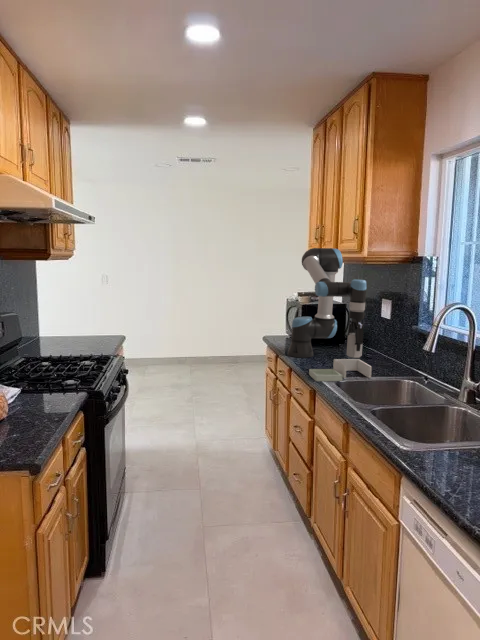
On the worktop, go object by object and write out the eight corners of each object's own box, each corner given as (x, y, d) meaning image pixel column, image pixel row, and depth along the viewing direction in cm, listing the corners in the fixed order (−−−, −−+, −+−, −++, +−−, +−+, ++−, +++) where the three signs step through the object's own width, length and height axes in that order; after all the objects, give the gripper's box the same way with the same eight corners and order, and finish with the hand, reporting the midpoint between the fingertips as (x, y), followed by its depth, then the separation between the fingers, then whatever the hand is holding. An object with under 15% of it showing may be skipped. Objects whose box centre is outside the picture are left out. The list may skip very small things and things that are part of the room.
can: (361, 358, 237) (363, 335, 235) (346, 357, 238) (348, 334, 236) (361, 355, 244) (362, 332, 242) (346, 354, 245) (347, 331, 243)
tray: (308, 374, 241) (309, 369, 241) (333, 374, 243) (333, 369, 243) (316, 381, 229) (316, 375, 228) (342, 381, 230) (342, 375, 230)
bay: (333, 370, 252) (333, 359, 251) (358, 370, 254) (359, 359, 253) (344, 378, 235) (344, 366, 234) (370, 378, 237) (371, 366, 236)
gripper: (342, 307, 247) (340, 350, 250) (357, 313, 227) (354, 360, 230) (356, 308, 248) (353, 350, 251) (372, 313, 228) (368, 360, 231)
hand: (354, 355), depth 241 cm, fingers closed on can, 7 cm apart
